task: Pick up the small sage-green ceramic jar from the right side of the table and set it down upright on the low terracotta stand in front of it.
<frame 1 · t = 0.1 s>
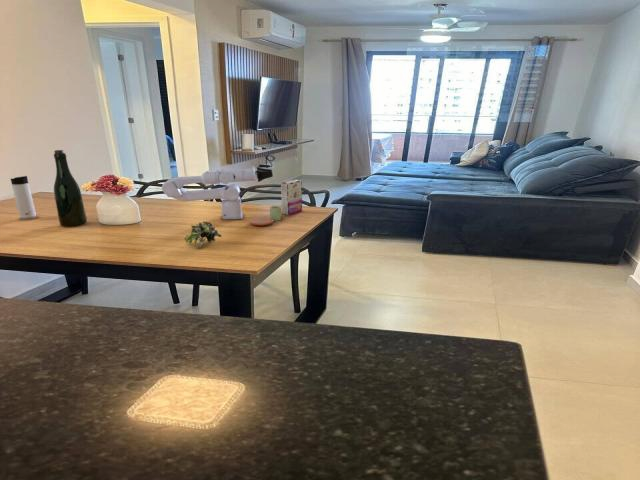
hand: (272, 173, 184), 22 cm above the table, tool horizontal, fingers open, 7 cm apart
jar: (275, 219, 186), on the table
beer bottle: (74, 224, 173), on the table
travel mug: (29, 218, 181), on the table
green leafy plant: (203, 245, 149), on the table
candy bar box: (291, 212, 198), on the table
stand: (261, 223, 178), on the table
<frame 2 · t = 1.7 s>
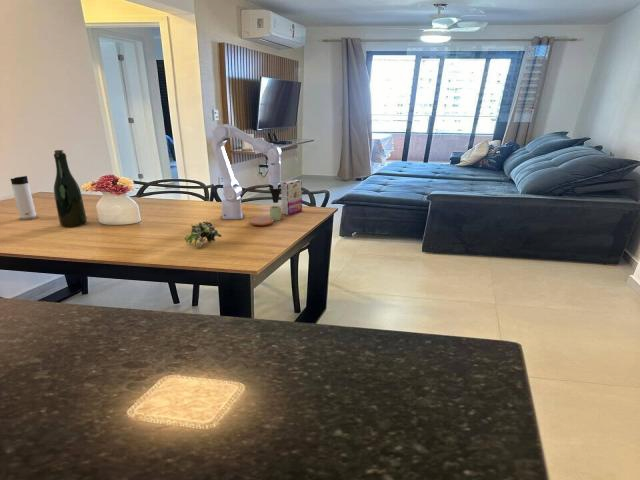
hand: (275, 200, 183), 9 cm above the table, tool pointing down, fingers open, 7 cm apart
nothing on the table moved.
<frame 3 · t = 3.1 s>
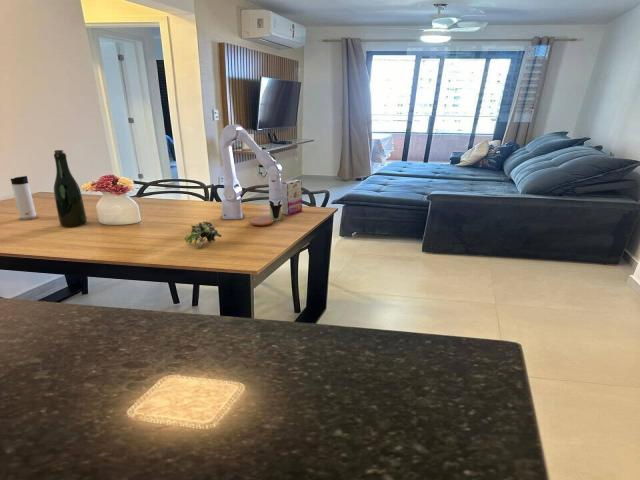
hand: (275, 216, 185), 1 cm above the table, tool pointing down, fingers closed on jar, 5 cm apart
jar: (275, 219, 186), on the table, touching gripper
everything else where it was.
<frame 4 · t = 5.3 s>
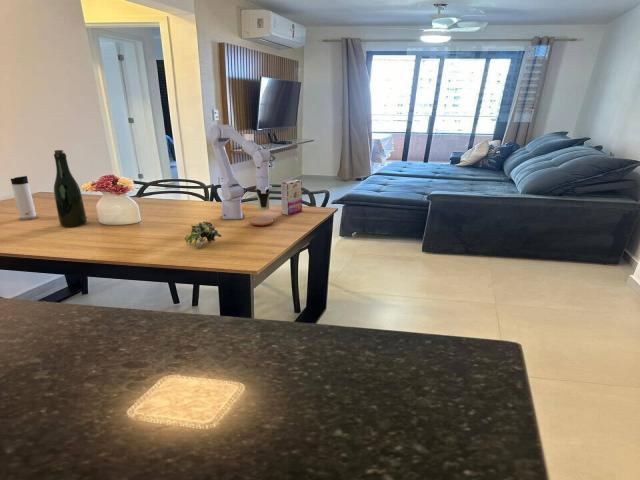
hand: (263, 205, 177), 8 cm above the table, tool pointing down, fingers closed on jar, 5 cm apart
jar: (263, 208, 177), point 7 cm above the table, touching gripper
everything else where it was.
when the fingers open (3 cm above the table, at t = 7.6 s): jar stays where it is, resting on stand.
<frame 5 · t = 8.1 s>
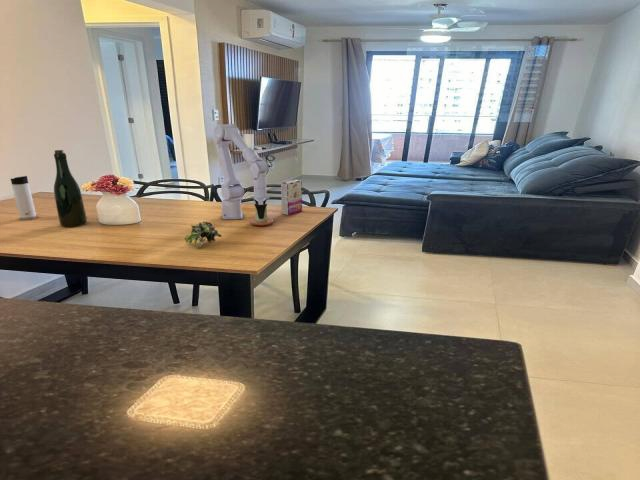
hand: (261, 216, 177), 4 cm above the table, tool pointing down, fingers open, 7 cm apart
jar: (261, 220, 178), point 2 cm above the table, touching stand
everything else where it was.
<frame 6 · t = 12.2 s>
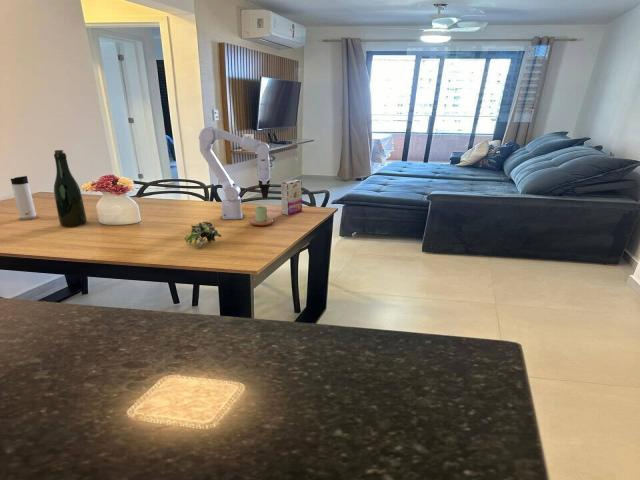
hand: (264, 196, 186), 10 cm above the table, tool pointing down, fingers open, 7 cm apart
nothing on the table moved.
at the end: jar 0.0 cm off-centre on the stand, point 1.8 cm above the stand's base; jar tilted 0°; the gripper is holding nothing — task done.
